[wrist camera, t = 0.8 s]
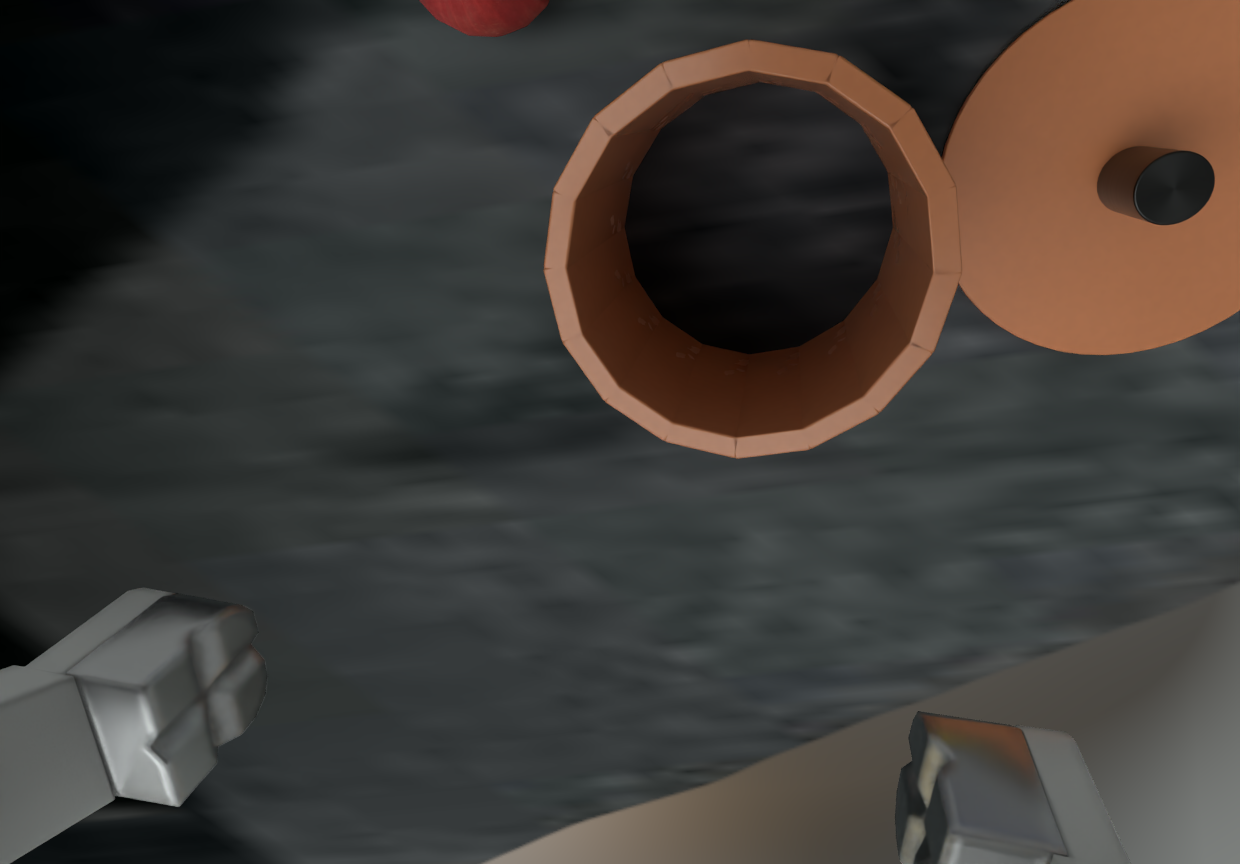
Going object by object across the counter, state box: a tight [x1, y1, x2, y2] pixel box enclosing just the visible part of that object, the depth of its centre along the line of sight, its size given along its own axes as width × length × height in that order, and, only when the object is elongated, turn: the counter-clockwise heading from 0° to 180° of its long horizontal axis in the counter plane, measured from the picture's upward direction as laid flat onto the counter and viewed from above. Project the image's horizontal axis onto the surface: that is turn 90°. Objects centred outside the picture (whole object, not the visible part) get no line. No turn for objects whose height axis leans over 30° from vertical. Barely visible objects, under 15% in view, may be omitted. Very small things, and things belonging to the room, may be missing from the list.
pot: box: [544, 39, 962, 459], centre depth 28 cm, size 13×13×10 cm
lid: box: [942, 0, 1240, 355], centre depth 28 cm, size 14×14×5 cm
